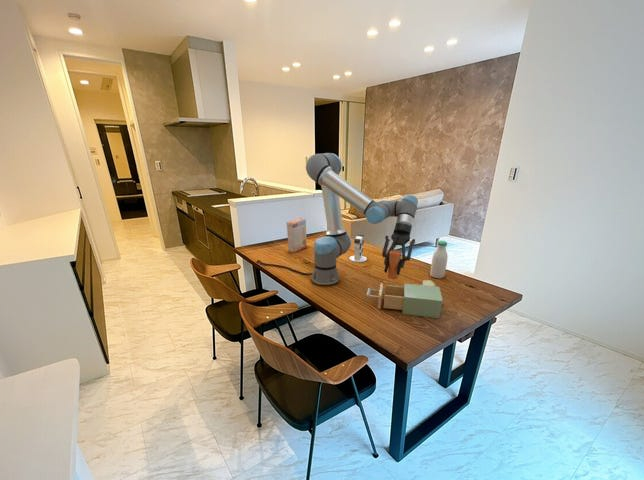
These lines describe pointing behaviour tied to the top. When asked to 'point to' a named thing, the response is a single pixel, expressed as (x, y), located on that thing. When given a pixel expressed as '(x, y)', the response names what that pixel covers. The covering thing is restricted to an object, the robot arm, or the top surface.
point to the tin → (393, 264)
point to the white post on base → (358, 249)
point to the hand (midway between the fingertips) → (391, 272)
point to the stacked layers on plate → (428, 283)
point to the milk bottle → (439, 261)
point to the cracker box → (296, 235)
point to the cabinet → (422, 300)
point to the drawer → (389, 296)
